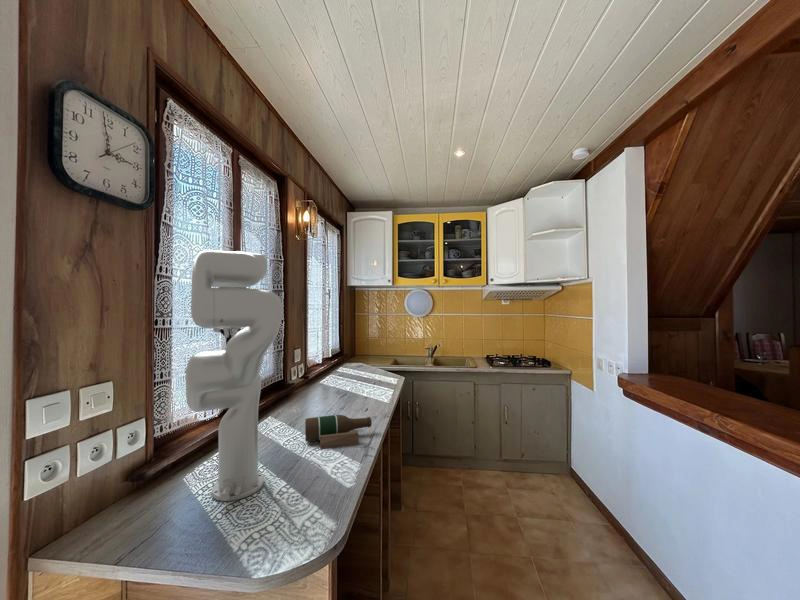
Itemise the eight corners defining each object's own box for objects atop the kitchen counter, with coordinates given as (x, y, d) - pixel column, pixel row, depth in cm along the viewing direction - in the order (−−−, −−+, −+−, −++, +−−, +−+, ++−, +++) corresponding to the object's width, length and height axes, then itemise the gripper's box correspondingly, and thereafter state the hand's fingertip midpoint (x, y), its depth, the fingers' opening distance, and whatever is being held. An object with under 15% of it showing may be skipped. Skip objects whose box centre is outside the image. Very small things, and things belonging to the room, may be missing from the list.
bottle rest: (358, 444, 113) (358, 432, 113) (320, 448, 110) (320, 437, 110) (353, 429, 127) (353, 419, 127) (319, 433, 123) (319, 422, 123)
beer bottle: (305, 441, 117) (369, 433, 124) (305, 441, 110) (373, 432, 117) (305, 419, 120) (368, 412, 127) (305, 417, 113) (372, 410, 120)
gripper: (202, 292, 99) (202, 352, 99) (254, 293, 103) (254, 349, 103) (209, 293, 107) (209, 349, 106) (258, 294, 111) (258, 347, 110)
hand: (231, 349), depth 105 cm, fingers closed
